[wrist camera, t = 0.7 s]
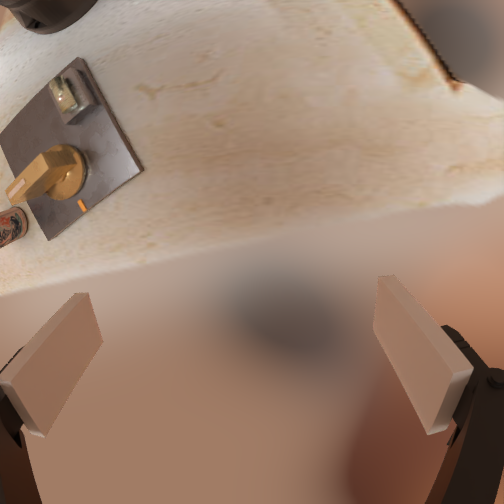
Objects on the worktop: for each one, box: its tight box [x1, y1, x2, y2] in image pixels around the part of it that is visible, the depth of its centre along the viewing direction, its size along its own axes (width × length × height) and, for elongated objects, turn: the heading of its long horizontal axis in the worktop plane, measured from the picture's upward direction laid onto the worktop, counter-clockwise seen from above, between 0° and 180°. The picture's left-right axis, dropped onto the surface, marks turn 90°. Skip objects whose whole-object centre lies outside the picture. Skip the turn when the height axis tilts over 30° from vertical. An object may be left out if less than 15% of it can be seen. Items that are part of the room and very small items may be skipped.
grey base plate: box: [0, 57, 144, 241], centre depth 32 cm, size 18×17×6 cm
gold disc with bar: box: [5, 144, 85, 206], centre depth 31 cm, size 7×9×8 cm
